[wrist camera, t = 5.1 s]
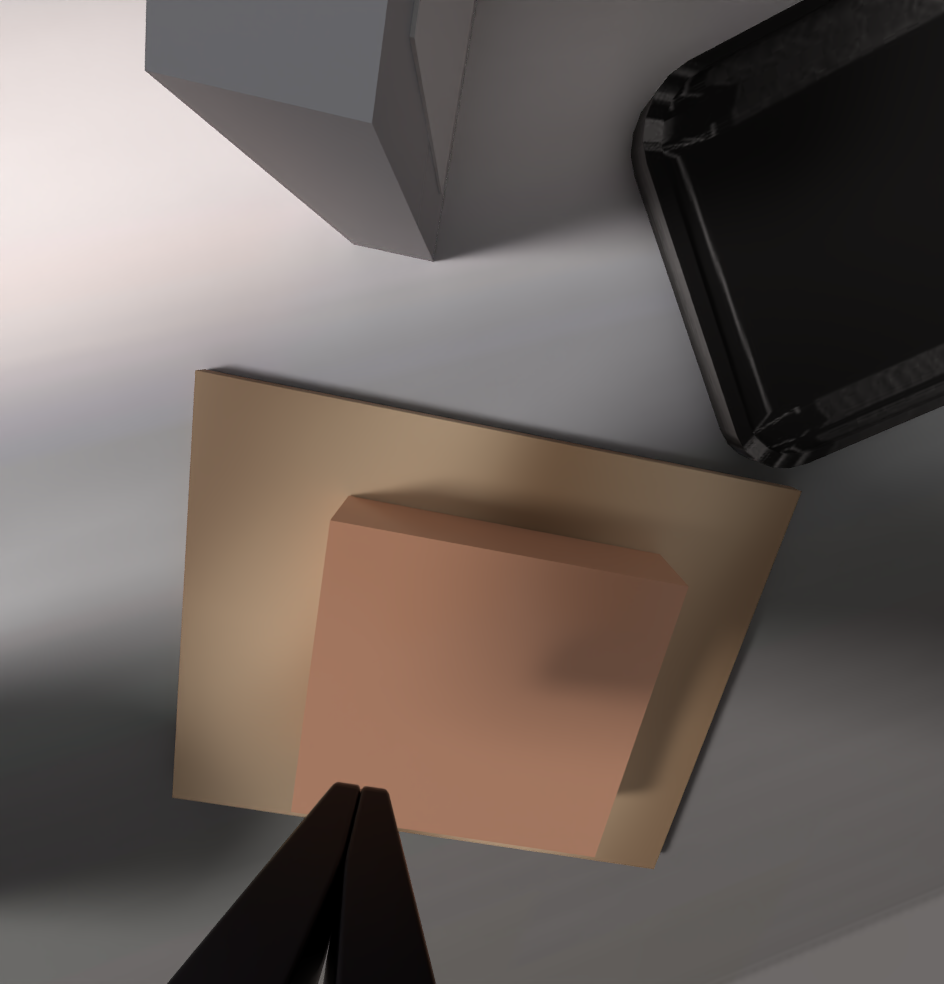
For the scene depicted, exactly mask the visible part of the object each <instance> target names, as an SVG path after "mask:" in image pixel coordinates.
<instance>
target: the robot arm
mask: <svg viewBox="0 0 944 984" xmlns="http://www.w3.org/2000/svg"><path fill="white" fill-rule="evenodd" d="M329 942H330V943H329ZM328 946H329V949H328ZM327 950H328V955H327V961H326V968H325V975H324V982H323V984H436V982H435V978H434V974H433V970H432V966H431V962H430V958H429V954H428V950H427V946H426V941H425V937H424V933H423V929H422V925H421V921H420V917H419V913H418V909H417V905H416V901H415V897H414V893H413V889H412V885H411V880H410V876H409V872H408V868H407V864H406V860H405V856H404V852H403V848H402V844H401V840H400V836H399V832H398V828H397V823H396V819H395V815H394V811H393V807H392V803H391V799H390V795H389V793H388V791H387V790H386V789H383V788H376V787H370V786H364V787H363V788H362V789H360V786H359V785H357V784H350V783H343V782H336V783H334V784H333V785H332V786H331V787H330V788H329V790H328V791H327V792H326V793H325V794H324V796H323V797H322V798H321V799H320V800H319V802H318V803H317V804H316V805H315V806H314V808H313V809H312V810H311V811H310V812H309V814H308V815H307V816H306V817H305V818H304V820H303V821H302V822H301V823H300V824H299V826H298V827H297V828H296V829H295V830H294V832H293V833H292V834H291V835H290V836H289V838H288V839H287V840H286V841H285V842H284V844H283V845H282V846H281V847H280V848H279V850H278V851H277V852H276V853H275V855H274V856H273V857H272V858H271V859H270V861H269V862H268V863H267V864H266V865H265V867H264V868H263V869H262V870H261V871H260V873H259V874H258V875H257V876H256V877H255V879H254V880H253V881H252V882H251V883H250V885H249V886H248V887H247V888H246V889H245V891H244V892H243V893H242V894H241V895H240V897H239V898H238V899H237V900H236V901H235V903H234V904H233V905H232V906H231V907H230V909H229V910H228V911H227V912H226V913H225V915H224V916H223V917H222V918H221V919H220V921H219V922H218V923H217V924H216V926H215V927H214V928H213V929H212V930H211V932H210V933H209V934H208V935H207V936H206V938H205V939H204V940H203V941H202V942H201V944H200V945H199V946H198V947H197V948H196V950H195V951H194V952H193V953H192V954H191V956H190V957H189V958H188V959H187V960H186V962H185V963H184V964H183V965H182V966H181V968H180V969H179V970H178V971H177V972H176V974H175V975H174V976H173V977H172V978H171V980H170V981H169V982H168V983H167V984H318V982H319V978H320V975H321V972H322V968H323V965H324V962H325V958H326V954H327Z"/></svg>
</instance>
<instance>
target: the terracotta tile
mask: <svg viewBox="0 0 944 984" xmlns="http://www.w3.org/2000/svg"><path fill="white" fill-rule="evenodd" d="M688 587H689V586H688V585H687V584H686V583H685V582H684V581H683V579H682V578H681V577H680V576H679V575H678V574H677V573H676V572H675V571H674V569H673V568H672V567H671V566H670V565H669V564H668V563H667V562H666V560H665V559H664V558H663V557H662V556H661V555H660V554H656V553H651V552H646V551H640V550H635V549H630V548H624V547H619V546H614V545H608V544H603V543H598V542H592V541H587V540H582V539H576V538H571V537H566V536H561V535H555V534H550V533H545V532H539V531H534V530H529V529H523V528H518V527H513V526H507V525H502V524H497V523H491V522H486V521H481V520H476V519H470V518H465V517H460V516H454V515H449V514H444V513H438V512H433V511H428V510H422V509H417V508H412V507H406V506H401V505H396V504H391V503H385V502H380V501H375V500H369V499H364V498H359V497H353V496H348V497H347V499H346V500H345V501H344V503H343V504H342V505H341V506H340V508H339V509H338V510H337V512H336V513H335V514H334V516H333V517H332V518H331V520H330V524H329V532H328V539H327V547H326V554H325V562H324V569H323V577H322V584H321V591H320V599H319V606H318V614H317V621H316V629H315V636H314V644H313V651H312V659H311V666H310V674H309V681H308V688H307V696H306V703H305V711H304V718H303V726H302V733H301V741H300V748H299V756H298V763H297V771H296V778H295V786H294V793H293V800H292V808H291V812H295V813H301V814H309V812H310V811H311V810H312V809H313V808H314V806H315V805H316V804H317V803H318V802H319V800H320V799H321V798H322V797H323V796H324V794H325V793H326V792H327V791H328V790H329V788H330V787H331V786H332V785H333V784H334V783H336V782H343V783H350V784H357V785H359V786H360V789H362V788H363V787H364V786H370V787H376V788H383V789H386V790H387V791H388V793H389V795H390V799H391V803H392V807H393V811H394V815H395V819H396V823H397V828H402V829H409V830H416V831H422V832H429V833H436V834H443V835H449V836H456V837H463V838H469V839H476V840H483V841H490V842H496V843H503V844H510V845H516V846H523V847H530V848H537V849H543V850H550V851H557V852H563V853H570V854H577V855H584V856H590V857H595V855H596V852H597V849H598V846H599V844H600V841H601V838H602V835H603V832H604V829H605V826H606V823H607V820H608V818H609V815H610V812H611V809H612V806H613V803H614V800H615V797H616V795H617V792H618V789H619V786H620V783H621V780H622V777H623V774H624V772H625V769H626V766H627V763H628V760H629V757H630V754H631V751H632V749H633V746H634V743H635V740H636V737H637V734H638V731H639V728H640V726H641V723H642V720H643V717H644V714H645V711H646V708H647V705H648V703H649V700H650V697H651V694H652V691H653V688H654V685H655V682H656V680H657V677H658V674H659V671H660V668H661V665H662V662H663V659H664V657H665V654H666V651H667V648H668V645H669V642H670V639H671V636H672V634H673V631H674V628H675V625H676V622H677V619H678V616H679V613H680V610H681V608H682V605H683V602H684V599H685V596H686V593H687V590H688Z"/></svg>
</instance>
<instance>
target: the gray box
mask: <svg viewBox="0 0 944 984" xmlns="http://www.w3.org/2000/svg"><path fill="white" fill-rule="evenodd" d="M476 3H477V0H147V2H146V43H145V71H146V72H147V73H149V74H150V75H151V76H152V77H153V78H155V79H156V80H157V81H158V82H159V83H161V84H162V85H163V86H164V87H165V88H167V89H168V90H169V91H170V92H171V93H173V94H174V95H175V96H176V97H177V98H179V99H180V100H181V101H182V102H183V103H185V104H186V105H187V106H188V107H189V108H191V109H192V110H193V111H194V112H195V113H197V114H198V115H199V116H200V117H201V118H203V119H204V120H205V121H206V122H207V123H209V124H210V125H211V126H212V127H213V128H215V129H216V130H217V131H218V132H219V133H221V134H222V135H223V136H224V137H225V138H227V139H228V140H229V141H230V142H231V143H233V144H234V145H235V146H236V147H237V148H239V149H240V150H241V151H242V152H243V153H245V154H246V155H247V156H248V157H249V158H251V159H252V160H253V161H254V162H255V163H257V164H258V165H259V166H260V167H261V168H263V169H264V170H265V171H266V172H267V173H269V174H270V175H271V176H272V177H273V178H275V179H276V180H277V181H278V182H279V183H281V184H282V185H283V186H284V187H285V188H287V189H288V190H289V191H290V192H291V193H293V194H294V195H295V196H296V197H297V198H299V199H300V200H301V201H302V202H303V203H305V204H306V205H307V206H308V207H309V208H311V209H312V210H313V211H314V212H315V213H317V214H318V215H319V216H320V217H321V218H323V219H324V220H325V221H326V222H327V223H329V224H330V225H331V226H332V227H333V228H335V229H336V230H337V231H338V232H339V233H341V234H342V235H343V236H344V237H345V238H347V239H348V240H349V241H350V242H351V243H353V244H354V245H359V246H364V247H368V248H373V249H377V250H382V251H386V252H391V253H396V254H400V255H405V256H409V257H414V258H418V259H423V260H428V261H432V262H433V260H434V254H435V248H436V242H437V236H438V230H439V224H440V218H441V212H442V206H443V200H444V194H445V188H446V182H447V176H448V170H449V164H450V158H451V152H452V147H453V141H454V135H455V129H456V123H457V117H458V111H459V105H460V99H461V93H462V87H463V81H464V75H465V69H466V63H467V57H468V51H469V45H470V39H471V33H472V27H473V21H474V15H475V9H476Z"/></svg>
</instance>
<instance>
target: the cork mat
mask: <svg viewBox="0 0 944 984" xmlns="http://www.w3.org/2000/svg"><path fill="white" fill-rule="evenodd" d="M801 492H802V491H799V490H797V489H795V488H793V487H791V486H786V485H781V484H776V483H771V482H766V481H761V480H756V479H751V478H746V477H741V476H736V475H731V474H726V473H721V472H716V471H711V470H706V469H701V468H696V467H691V466H686V465H681V464H676V463H671V462H666V461H661V460H656V459H651V458H646V457H641V456H636V455H631V454H626V453H621V452H616V451H611V450H606V449H601V448H596V447H591V446H586V445H581V444H576V443H571V442H566V441H561V440H556V439H551V438H546V437H541V436H536V435H531V434H526V433H521V432H516V431H511V430H506V429H501V428H496V427H491V426H486V425H481V424H476V423H471V422H466V421H461V420H456V419H451V418H446V417H441V416H436V415H431V414H426V413H421V412H416V411H411V410H406V409H401V408H396V407H391V406H386V405H381V404H376V403H371V402H366V401H361V400H356V399H351V398H346V397H341V396H336V395H331V394H326V393H321V392H316V391H311V390H306V389H301V388H296V387H291V386H286V385H281V384H276V383H271V382H266V381H261V380H256V379H251V378H246V377H241V376H236V375H231V374H226V373H221V372H216V371H211V370H206V369H204V370H195V388H194V406H193V425H192V443H191V462H190V480H189V499H188V517H187V536H186V554H185V572H184V591H183V609H182V628H181V646H180V665H179V683H178V702H177V720H176V739H175V757H174V776H173V794H172V798H179V799H185V800H192V801H199V802H206V803H212V804H219V805H226V806H232V807H239V808H246V809H253V810H259V811H266V812H273V813H280V814H286V815H293V816H300V817H306V816H307V815H308V814H301V813H295V812H291V808H292V800H293V793H294V786H295V778H296V771H297V763H298V756H299V748H300V741H301V733H302V726H303V718H304V711H305V703H306V696H307V688H308V681H309V674H310V666H311V659H312V651H313V644H314V636H315V629H316V621H317V614H318V606H319V599H320V591H321V584H322V577H323V569H324V562H325V554H326V547H327V539H328V532H329V524H330V520H331V518H332V517H333V516H334V514H335V513H336V512H337V510H338V509H339V508H340V506H341V505H342V504H343V503H344V501H345V500H346V499H347V497H348V496H353V497H359V498H364V499H369V500H375V501H380V502H385V503H391V504H396V505H401V506H406V507H412V508H417V509H422V510H428V511H433V512H438V513H444V514H449V515H454V516H460V517H465V518H470V519H476V520H481V521H486V522H491V523H497V524H502V525H507V526H513V527H518V528H523V529H529V530H534V531H539V532H545V533H550V534H555V535H561V536H566V537H571V538H576V539H582V540H587V541H592V542H598V543H603V544H608V545H614V546H619V547H624V548H630V549H635V550H640V551H646V552H651V553H656V554H660V555H661V556H662V557H663V558H664V559H665V560H666V562H667V563H668V564H669V565H670V566H671V567H672V568H673V569H674V571H675V572H676V573H677V574H678V575H679V576H680V577H681V578H682V579H683V581H684V582H685V583H686V584H687V585H688V586H689V587H688V590H687V593H686V596H685V599H684V602H683V605H682V608H681V610H680V613H679V616H678V619H677V622H676V625H675V628H674V631H673V634H672V636H671V639H670V642H669V645H668V648H667V651H666V654H665V657H664V659H663V662H662V665H661V668H660V671H659V674H658V677H657V680H656V682H655V685H654V688H653V691H652V694H651V697H650V700H649V703H648V705H647V708H646V711H645V714H644V717H643V720H642V723H641V726H640V728H639V731H638V734H637V737H636V740H635V743H634V746H633V749H632V751H631V754H630V757H629V760H628V763H627V766H626V769H625V772H624V774H623V777H622V780H621V783H620V786H619V789H618V792H617V795H616V797H615V800H614V803H613V806H612V809H611V812H610V815H609V818H608V820H607V823H606V826H605V829H604V832H603V835H602V838H601V841H600V844H599V846H598V849H597V852H596V855H595V857H590V856H584V855H577V854H570V853H563V852H557V851H550V850H543V849H537V848H530V847H523V846H516V845H510V844H503V843H496V842H490V841H483V840H476V839H469V838H463V837H456V836H449V835H443V834H436V833H429V832H422V831H416V830H409V829H402V828H398V831H401V832H408V833H414V834H421V835H428V836H434V837H441V838H448V839H455V840H461V841H468V842H475V843H482V844H488V845H495V846H502V847H509V848H515V849H522V850H529V851H535V852H542V853H549V854H556V855H562V856H569V857H576V858H583V859H589V860H596V861H603V862H610V863H616V864H623V865H630V866H636V867H643V868H650V869H654V867H655V865H656V862H657V859H658V857H659V854H660V852H661V849H662V847H663V844H664V842H665V839H666V836H667V834H668V831H669V829H670V826H671V824H672V821H673V819H674V816H675V814H676V811H677V808H678V806H679V803H680V801H681V798H682V796H683V793H684V791H685V788H686V785H687V783H688V780H689V778H690V775H691V773H692V770H693V768H694V765H695V762H696V760H697V757H698V755H699V752H700V750H701V747H702V745H703V742H704V739H705V737H706V734H707V732H708V729H709V727H710V724H711V722H712V719H713V716H714V714H715V711H716V709H717V706H718V704H719V701H720V699H721V696H722V693H723V691H724V688H725V686H726V683H727V681H728V678H729V676H730V673H731V670H732V668H733V665H734V663H735V660H736V658H737V655H738V653H739V650H740V647H741V645H742V642H743V640H744V637H745V635H746V632H747V630H748V627H749V624H750V622H751V619H752V617H753V614H754V612H755V609H756V607H757V604H758V601H759V599H760V596H761V594H762V591H763V589H764V586H765V584H766V581H767V579H768V576H769V573H770V571H771V568H772V566H773V563H774V561H775V558H776V556H777V553H778V550H779V548H780V545H781V543H782V540H783V538H784V535H785V533H786V530H787V527H788V525H789V522H790V520H791V517H792V515H793V512H794V510H795V507H796V504H797V502H798V499H799V497H800V494H801Z"/></svg>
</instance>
